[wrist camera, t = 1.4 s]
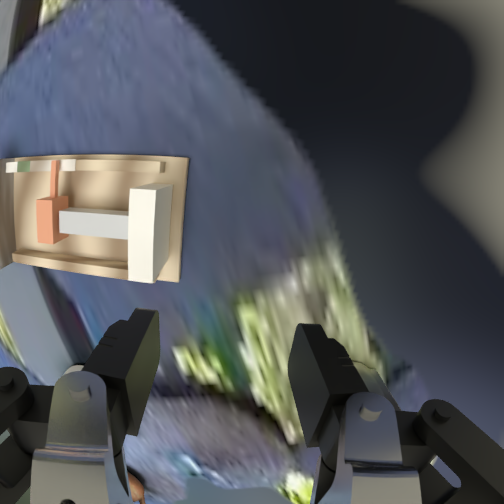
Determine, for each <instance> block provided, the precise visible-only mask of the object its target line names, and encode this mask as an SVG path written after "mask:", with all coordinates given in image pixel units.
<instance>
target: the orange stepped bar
mask: <svg viewBox="0 0 504 504" xmlns="http://www.w3.org/2000/svg"><path fill="white" fill-rule="evenodd" d="M59 161H60V160H52V161H51V178H50V196H49V197H45V198H41V199H37V200H36V217H37V238H38V243H45V244H55V243H57V242H59V241H61V240H63V239H65V238H67V237H69V234H66V233H60V229H59V211H60V210H63V209H66V208H68V196H58V179H59Z"/></svg>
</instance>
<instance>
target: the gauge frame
mask: <svg viewBox="0 0 504 504" xmlns="http://www.w3.org/2000/svg"><path fill="white" fill-rule="evenodd" d="M52 160H60V161H59V179H58V196H68V208H69V207H72V208H88V209H102V210H116V211H129V195H130V188H134V187H138V186H142V185H146V184H150V183H159V184H173V191H172V203H171V218H170V234H169V256H168V260H167V262H166V263H165V265H164V266H163V268H162V270H161V271H160V273H159V274H158V276H157V277H156V279H155V281H156V280H162V281H171V282H179V280H180V270H181V250H182V234H183V219H184V207H185V195H186V184H187V174H188V165H189V158H183V157H167V156H146V155H54V156H35V157H21V158H7V159H0V269H2V268H4V267H5V266H7V265H9V264H10V263H12V262H17V263H23V264H28V265H34V266H40V267H45V268H51V269H57V270H64V271H70V272H76V273H83V274H90V275H96V276H103V277H110V278H118V279H125V280H128V240H125V239H115V238H106V237H96V236H86V235H76V234H69V237H67V238H65V239H63V240H61V241H59V242H57V243H55V244H45V243H38V238H37V217H36V200H37V199H41V198H45V197H49V196H50V178H51V161H52ZM155 281H154V282H153V283H155Z"/></svg>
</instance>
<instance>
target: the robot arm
mask: <svg viewBox="0 0 504 504" xmlns="http://www.w3.org/2000/svg"><path fill="white" fill-rule="evenodd" d="M159 359H160V333H159V313H158V311H157V310H150V309H143V308H136V309H135V310H134V312H133V313H132V315H131V317H130V318H129V320H128V321H126V320H119V321H117V322H116V323H114V324H113V325H111V326H109V328H108V329H107V331H106V332H105V334H104V335H103V337H102V338H101V340H100V341H99V344H98V345H97V346H96V348H95V349H94V351H93V352H92V354H91V355H90V357H89V359H88V360H87V362H86V363H85V365H84V367H83V368H82V370H81V371H74V372H70V373H67V374H65V375H63V376H62V377H61V378H59V379H58V381H57V382H56V384H55V386H43V385H30V384H29V382H28V379H27V377H26V375H25V373H24V372H23V371H21V370H20V369H18V368H14V367H3V368H0V435H1V434H2V433H3V432H4V431H5V430H8V432H9V433H10V436H9V437H8V438H7V439H6V440H5V441H4V442H3V443H2V444H0V504H15V503H16V502H17V501H18V500H19V499H20V497H21V496H22V495H23V494H24V493H25V492H26V490H27V489H28V488H29V487H30V486H31V495H30V500H31V501H30V504H134V503H133V500H132V495H131V490H130V485H129V479H128V473H127V467H126V461H125V454H124V448H123V443H124V439H125V436H126V434H128V435H133V436H137V435H138V431H139V428H140V424H141V421H142V417H143V414H144V410H145V407H146V404H147V400H148V397H149V394H150V390H151V387H152V384H153V381H154V377H155V374H156V371H157V368H158V364H159ZM288 376H289V380H290V384H291V388H292V392H293V396H294V400H295V403H296V407H297V411H298V415H299V419H300V423H301V427H302V430H303V434H304V438H305V442H306V446H307V448H308V447H319V448H320V451H321V455H320V456H319V458H318V461H317V466H316V472H315V478H314V484H313V490H312V495H311V501H310V504H504V449H502V448H501V447H500V446H499V445H498V444H497V443H496V442H495V441H493V440H492V439H491V438H490V437H489V436H488V435H487V434H485V433H484V432H483V431H482V430H481V429H480V428H479V427H477V426H476V425H475V424H474V423H473V422H472V421H470V420H469V419H468V418H467V417H466V416H465V415H463V414H462V413H461V412H460V411H459V410H458V409H457V408H455V407H454V406H453V405H452V404H450V403H448V402H446V401H443V400H439V399H432V400H429V401H426V402H425V403H424V404H423V405H422V407H421V409H420V410H419V412H407V411H401V409H400V408H399V406H398V404H397V403H396V401H395V399H394V398H393V396H392V395H391V393H390V391H389V390H388V388H387V387H386V385H385V383H384V382H383V380H382V379H381V377H380V376H379V374H378V372H377V371H376V369H369V368H367V367H366V366H365V365H364V364H362V363H359V362H354V361H352V360H351V358H349V355H348V353H347V351H346V349H345V348H344V346H342V345H341V344H340V343H339V342H337V341H336V340H335V339H334V338H328V337H327V335H326V334H325V332H324V330H323V328H322V326H321V325H320V324H302V323H299V324H298V325H297V327H296V331H295V335H294V340H293V344H292V348H291V352H290V357H289V361H288ZM436 455H437V456H438V457H439V458H440V459H441V460H442V461H443V462H445V464H446V465H447V466H448V467H449V468H450V469H451V470H452V471H453V472H454V473H455V474H456V475H457V476H458V477H459V478H460V480H461V487H460V488H455V487H453V486H452V485H451V484H450V483H449V482H448V481H447V480H446V479H445V478H444V477H443V476H442V475H441V474H440V473H439V472H438V471H437V470H436V469H435V468H434V467H433V466H432V465H431V464H430V462H431V461H432V460H433V459H434V458H435V457H436Z"/></svg>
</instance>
